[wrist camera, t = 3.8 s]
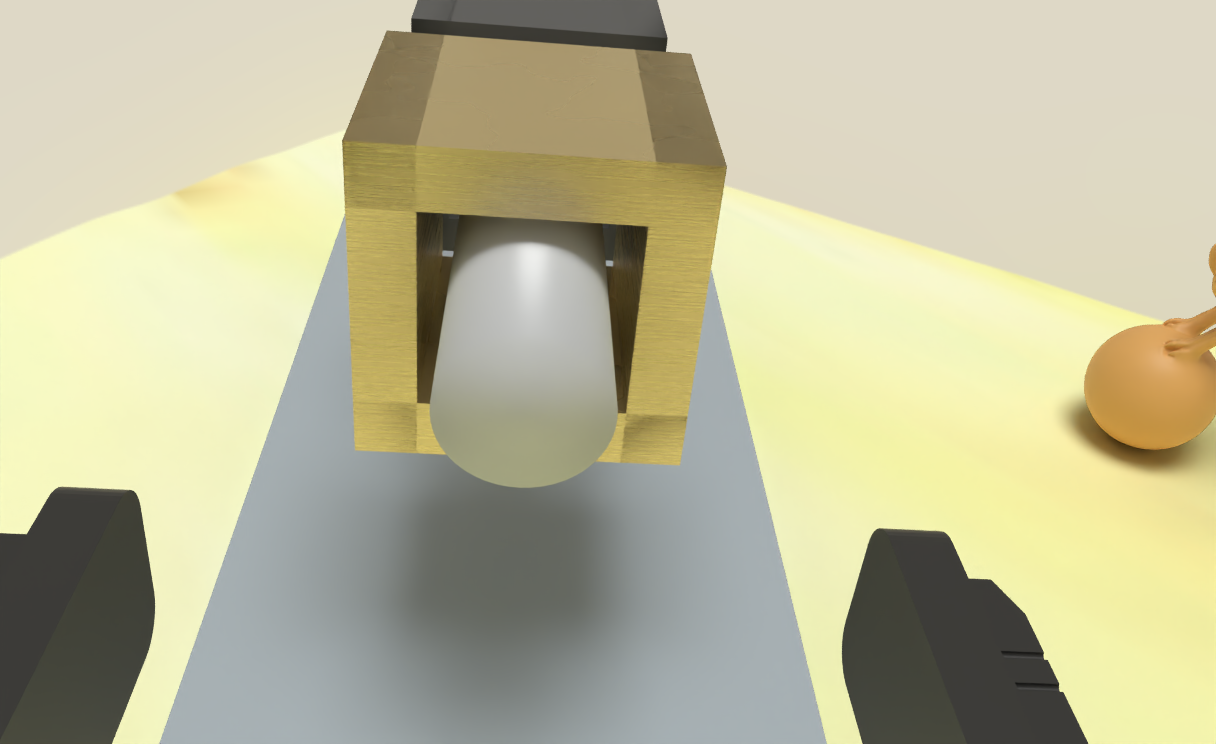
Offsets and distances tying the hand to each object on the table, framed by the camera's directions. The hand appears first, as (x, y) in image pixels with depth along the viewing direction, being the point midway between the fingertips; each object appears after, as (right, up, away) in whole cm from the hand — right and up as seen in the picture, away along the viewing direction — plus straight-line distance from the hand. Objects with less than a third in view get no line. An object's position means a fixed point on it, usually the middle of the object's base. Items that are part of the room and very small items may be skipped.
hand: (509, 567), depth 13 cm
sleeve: (-1, +2, +12) cm, 13 cm away
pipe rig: (-2, 0, +22) cm, 22 cm away
